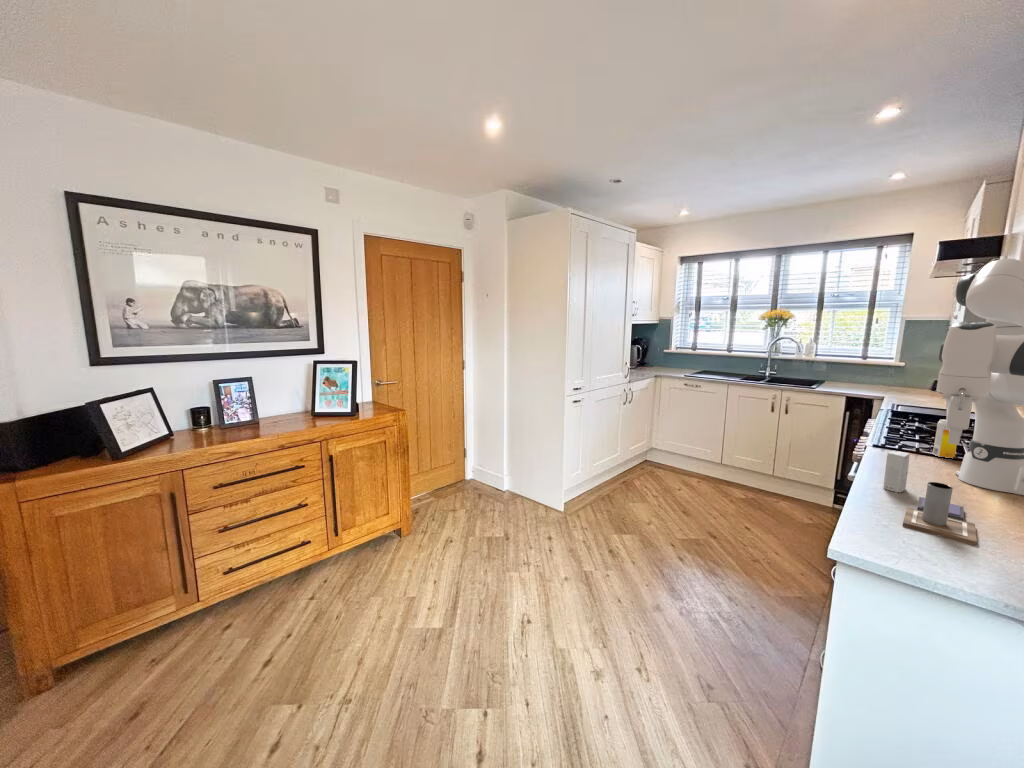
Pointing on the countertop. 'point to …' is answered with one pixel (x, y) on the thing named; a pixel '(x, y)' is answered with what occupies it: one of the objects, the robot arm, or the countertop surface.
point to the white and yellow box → (943, 441)
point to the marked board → (942, 527)
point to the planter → (937, 503)
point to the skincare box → (896, 471)
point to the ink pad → (954, 510)
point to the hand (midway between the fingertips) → (953, 439)
